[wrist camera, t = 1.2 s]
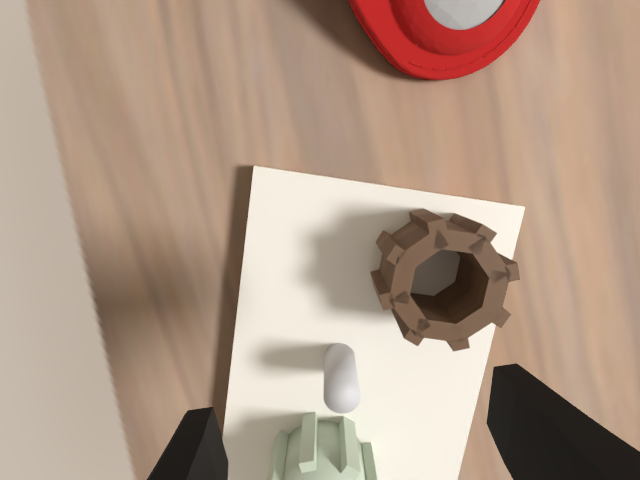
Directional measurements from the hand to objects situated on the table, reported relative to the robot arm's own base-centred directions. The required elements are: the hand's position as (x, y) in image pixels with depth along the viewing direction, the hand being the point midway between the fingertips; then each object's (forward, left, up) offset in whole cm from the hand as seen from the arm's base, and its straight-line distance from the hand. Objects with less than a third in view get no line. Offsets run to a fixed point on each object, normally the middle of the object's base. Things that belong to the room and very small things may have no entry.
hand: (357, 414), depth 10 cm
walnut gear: (-4, -2, -10) cm, 11 cm away
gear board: (-1, +4, -11) cm, 12 cm away
